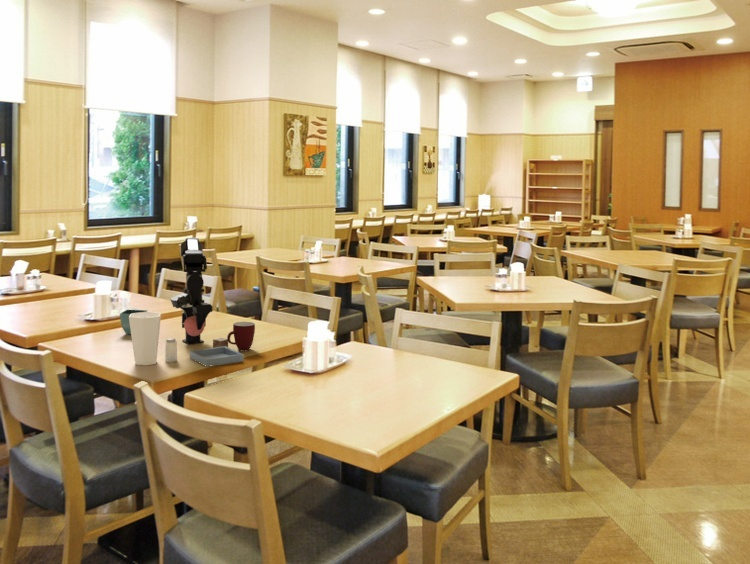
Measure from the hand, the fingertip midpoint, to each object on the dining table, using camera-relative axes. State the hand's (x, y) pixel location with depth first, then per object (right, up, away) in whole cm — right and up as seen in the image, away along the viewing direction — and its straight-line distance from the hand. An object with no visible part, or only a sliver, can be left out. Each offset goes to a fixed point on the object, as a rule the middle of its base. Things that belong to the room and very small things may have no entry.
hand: (194, 327), depth 266 cm
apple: (0, -3, +1) cm, 3 cm away
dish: (+10, -11, -8) cm, 17 cm away
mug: (+16, -9, +7) cm, 20 cm away
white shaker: (-6, -11, -11) cm, 17 cm away
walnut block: (+8, -9, +7) cm, 14 cm away
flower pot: (-32, -4, +29) cm, 43 cm away
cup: (-13, -12, -15) cm, 23 cm away
